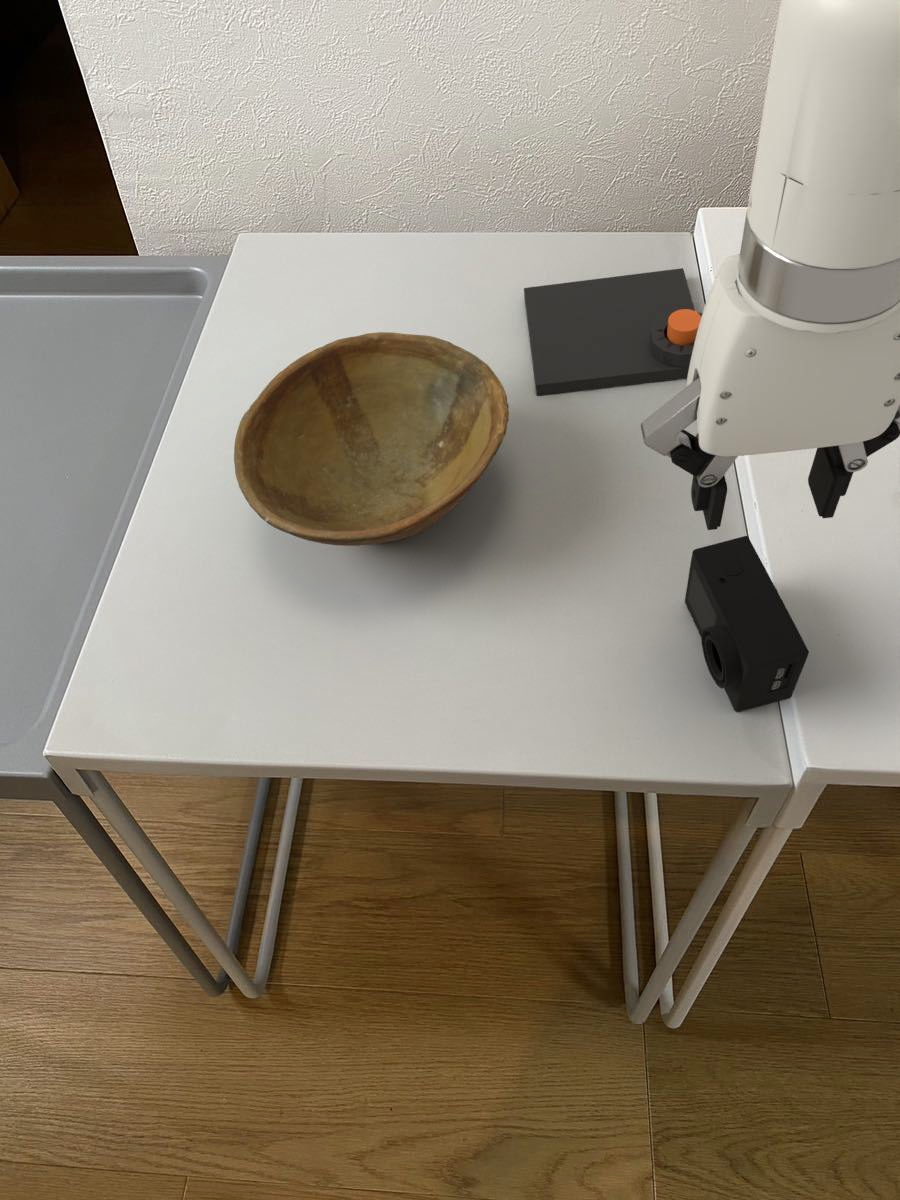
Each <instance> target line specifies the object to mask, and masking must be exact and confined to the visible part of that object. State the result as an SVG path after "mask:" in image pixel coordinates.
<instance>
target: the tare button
mask: <svg viewBox="0 0 900 1200" xmlns="http://www.w3.org/2000/svg"><path fill="white" fill-rule="evenodd" d="M697 312H698V311H696V310H695V311H693V310H689V309H681V310H677V311H675V312H673V313H672V314H671V315H670V316H669V319H668V328H667V337H668V339H669V341H671V342H672V343H673V344H678V345H682V346H683V345H691V344H693V343H695V339H696V335H697V331H698V327H699V324H700V320H701V316H700V315H699V314H698V313H697Z"/></svg>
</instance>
